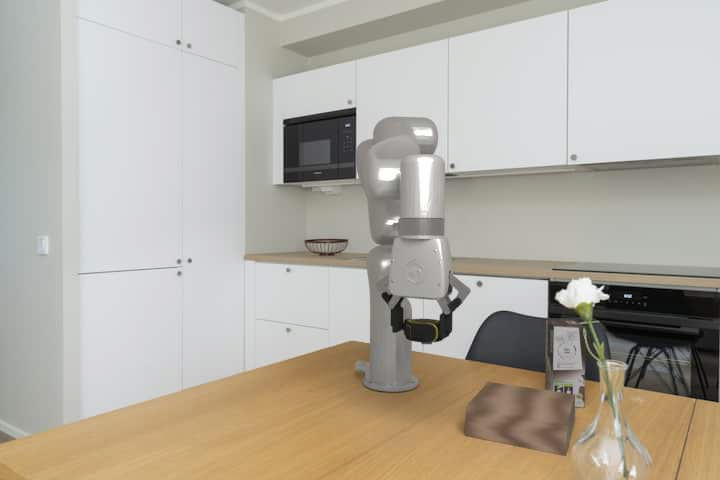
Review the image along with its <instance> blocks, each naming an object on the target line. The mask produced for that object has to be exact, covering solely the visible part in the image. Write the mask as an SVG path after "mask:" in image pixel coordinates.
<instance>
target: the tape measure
mask: <svg viewBox="0 0 720 480" xmlns="http://www.w3.org/2000/svg"><path fill="white" fill-rule="evenodd" d="M439 324H440V319H433V318H412V319H405V320H404V323H403V331H404V335H405V336H406V339H408V340H410V341H412V342H414V343H421V345H433V343H439V342H441V341H442V342H443V340H444V339H442V338H440V337H439Z"/></svg>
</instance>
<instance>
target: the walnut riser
mask: <svg viewBox="0 0 720 480" xmlns="http://www.w3.org/2000/svg"><path fill="white" fill-rule="evenodd" d="M464 421H465V429H464V430H465V431H464V432H465V433H464V435H465V437H469V438H470V437H471V438H476V439H481V440H485V441H490V442H495V443H500V444H505V445H510V446H515V447H519V448H525V449H530V450H536V451H540V452H544V453H551V454H554V455H555V454H556V455H559V456H564V457H566V456H567V453H568V449H569V445H570V441H571V437H572V433H573V429H574V427H575V426H574V425H575V422H576V407H575V394H569V393H562V392H555V391H549V390H545V389H542V388H541V389H540V388H535V387H534V388H533V387H526V386H519V385H515V384H514V385H513V384H507V383H506V384H505V383H501V382H500V383H499V382H492V381H487V383H486V384H484V386H483V387H482V388H481V389H480V390H479V391H478V392H477V393H476V395H475V396H473V398H472V399H471V400H470V401H469V402H468V403H467V404H466V405H465V420H464Z"/></svg>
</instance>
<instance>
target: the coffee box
mask: <svg viewBox="0 0 720 480" xmlns="http://www.w3.org/2000/svg"><path fill="white" fill-rule="evenodd" d="M578 323H580V321H578V320H577V319H567V318H566V319H563V318H560V319H559V318H558V319H550V318H548V319H545V389H544V390H549V391H555V392H562V393H569V394H575V408H585V391H586V388H585V387H586V386H585V385H586V352H587V343H585V339H584V336H583V328H585V330H586V331H587V326H585V325H583V324H582V325H580V324H578Z"/></svg>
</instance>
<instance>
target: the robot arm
mask: <svg viewBox="0 0 720 480" xmlns="http://www.w3.org/2000/svg"><path fill="white" fill-rule="evenodd" d="M438 142H439V132H438V128H437V125H436V124H435V122H434V121H433V120H432V119H430V118H428V117H421V116H419V117H418V116H416V117H415V116H388V117H384V118H382V119H381V120H379V121H378V122H377V123H376V124H375V126H374V128H373V132H372V138H369V139H365V140H362V141H361V142H360V143H359V144H358V145H357V147H356V150H355V165H356V166H355V167H356V172H357V176H358V179H359V182H360V184H361V187H362V189H363V191H364V194H365V196H366V200H367V201H366V202H367V211H368V212H367V214H368V224H369V225H368V226H369V234H370V237H371V239H372V241H373V242H374V243H375V244H377V245H378V246H375V247H374V246H373V248H371V249H369V251H368V253H367V255H366V259H365V260H366V263H365V264H366V272H367V273H366V275H367V278H368V279H367V280H368V281H367V282H368V288H369V361H367V362H366V361H364V360H356V362H355V371H356V372H364V374H365V375H364V376H363V377H362V384H363V385H364V387H366V388H368V389H370V390H373V391H376V392H377V391H378V392H384V393H385V392H386V393H387V392H388V393H398V392H399V393H400V392H407V391H411V390H414V389H416V388H417V387H418V386H419V378H418V377H417V376H416V375H414V374H413V373H412V371H413V370H412V367H413V364H412V363H413V362H412V360H413V358H412V357H413V356H412V350H413V346H412V345H413V341H410V340H408V339H406V336H405V335H404V331H403V323H404V320H405V319H413V307H412V305H411V302H410V300H409V299H417V300H418V299H419V300H430V301H435V300H436V302H437V303H438V305H439V308H440V309H441V313H440V314H439V320H440V324H439V337H440V338H442V339H443V340H444V339H446V338H448V337H450V335H451V333H452V332H453V314H454V312H455V311H456V309H458V308H459V307H460V306H461V305H462V304H463V303H464V301H465V300H466V298H467V297H469V295H470V294H471V288H470V287H469V286H467V285H466V284H465V283H464V282H462V280H460V279H458V278H457V276H455V275H454V273H453V262H452V261H453V259H452V253H451V248H450V247H451V246H450V242H449V238H447V237H446V238H445V223H446V222H445V217H446V216H445V215H446V214H445V212H446V207H445V205H446V162H445V160H444V158H443V157H441V156H439V155H437V154H435V152H436V151H437V147H438ZM453 289H455V290H456V291H457V295H456V296H455V298H453V299H451V297H450V296H452V294H453Z"/></svg>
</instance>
